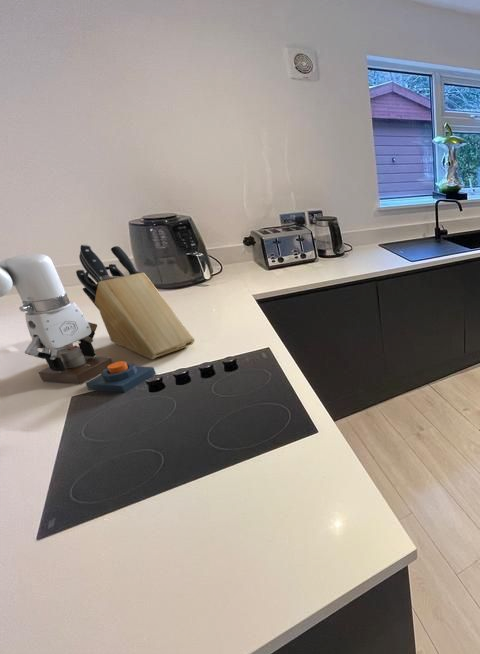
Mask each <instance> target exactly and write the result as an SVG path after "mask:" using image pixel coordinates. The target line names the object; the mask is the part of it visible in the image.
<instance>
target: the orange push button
mask: <svg viewBox="0 0 480 654" xmlns="http://www.w3.org/2000/svg"><path fill="white" fill-rule="evenodd" d="M126 363H127V362H126V361H124V360H122V361H120V360H119V361H116V362H113V363H112V364H110V365H108V367H107V368H108V370H109V373H111V374H113V373H119V372H122V371H124V370H126V369H128V367H127V364H126Z"/></svg>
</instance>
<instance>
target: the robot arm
mask: <svg viewBox="0 0 480 654" xmlns="http://www.w3.org/2000/svg"><path fill="white" fill-rule="evenodd" d="M13 287H15V289H16V291H17V293H18V295H19V297H20V299H21V301H22V302H21V303H22V305H21V306H19V307H18V309H19V311H20V312H25V313H24V314H25V323H26V326H27V329H28V333H29V335H30V337H31V341H30V343H29V345H28V346H27V347H26V349H25V350H24V354H26V355H28V356H32V357H34V358H38V359H42V360H45V361H46V363H47V365H48V367H50V369H51V370H53V371H61V372H63V371H65V367H64V365H63V363H62V361H61V359H60V358H59V357H56V356H57V350H58V349H59V348H62V347H64V346H66V345H69V344H71V343H73V344H74V343H75V342H78V347H80V349H81V352H82V354H83V356H90V357H97V354H96V352H95V351H96V350H95V348H94V346H93V342H94V339H93V338H95V337H94V336H95V334H96V331H97V328H98V324H97V323H93V322H89V321H88V320H87V318H86V317H85V315H84V314H83V313H84V312H83V311H82V310H81V308H80V307H79V306H78V305H77V304H76V303H75V302H74V301H70V299H69V297H68V294H67V292H66V289H65V287H64V285H63V283H62V281H61V278H60V276H59V274H58V271H57V269H56V267H55V265H54V263H53V260H52V258H51V257H49V256H48V255H47V254H43V253H42V254H41V253H30V254H22V255H16V256H13V257H5V258H3V257H2V258H0V298H2V297H4V296H6V295H7V294H9V293H10V292H11V290H12V289H13ZM38 349H41V351H39V350H38Z"/></svg>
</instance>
